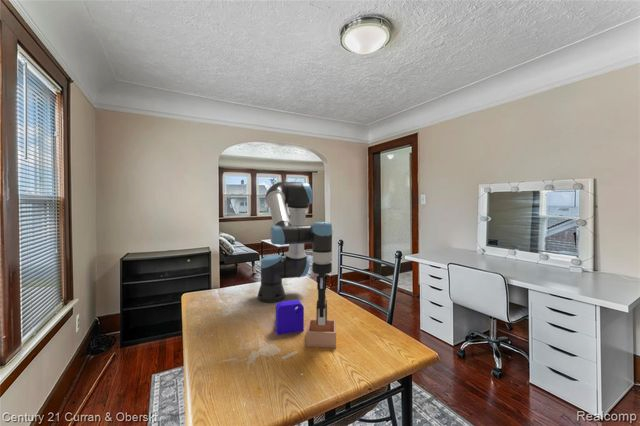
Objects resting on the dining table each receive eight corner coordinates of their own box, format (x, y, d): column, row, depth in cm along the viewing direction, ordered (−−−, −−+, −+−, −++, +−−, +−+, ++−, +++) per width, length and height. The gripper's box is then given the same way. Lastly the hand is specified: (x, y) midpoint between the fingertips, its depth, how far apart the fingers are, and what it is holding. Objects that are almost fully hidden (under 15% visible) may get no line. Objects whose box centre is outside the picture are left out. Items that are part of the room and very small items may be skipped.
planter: (308, 332, 111) (308, 319, 110) (335, 333, 110) (335, 319, 110) (306, 346, 100) (306, 332, 100) (335, 347, 99) (336, 333, 99)
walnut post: (317, 320, 107) (317, 300, 106) (327, 320, 106) (327, 300, 106) (316, 324, 103) (316, 304, 102) (326, 325, 103) (327, 304, 102)
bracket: (303, 331, 112) (303, 303, 112) (277, 335, 108) (277, 306, 108) (293, 314, 129) (293, 289, 129) (270, 317, 126) (270, 292, 125)
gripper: (314, 257, 112) (313, 312, 113) (310, 267, 95) (310, 332, 96) (332, 257, 112) (331, 313, 113) (331, 267, 95) (331, 332, 96)
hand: (321, 321), depth 105 cm, fingers closed on walnut post, 4 cm apart
